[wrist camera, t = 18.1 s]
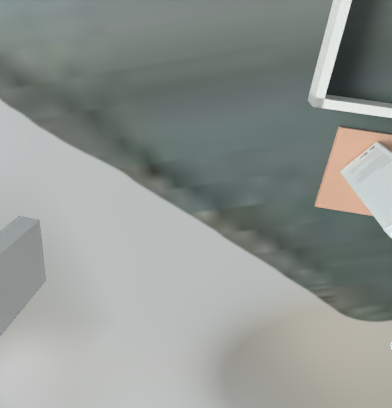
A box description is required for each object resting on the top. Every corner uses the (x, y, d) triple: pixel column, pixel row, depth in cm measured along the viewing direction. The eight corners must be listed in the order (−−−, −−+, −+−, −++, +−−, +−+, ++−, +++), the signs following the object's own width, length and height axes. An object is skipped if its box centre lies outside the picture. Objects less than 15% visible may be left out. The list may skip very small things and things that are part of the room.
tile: (338, 126, 42) (339, 127, 42) (430, 139, 42) (432, 141, 41) (314, 204, 47) (315, 206, 47) (396, 217, 47) (397, 220, 46)
